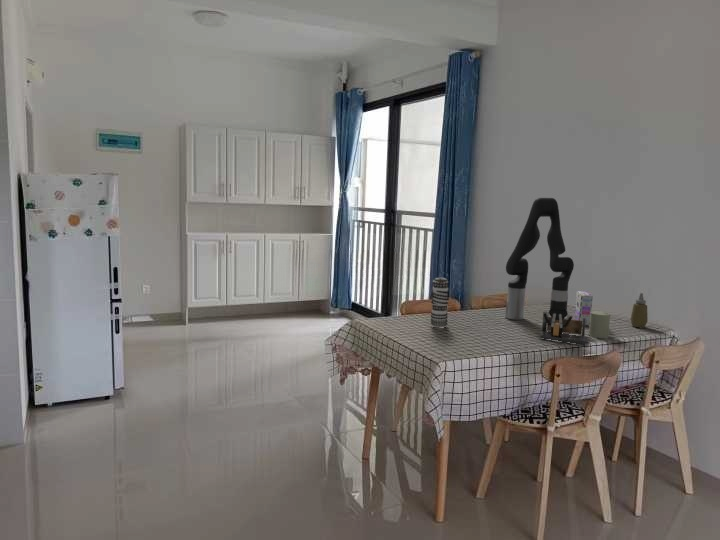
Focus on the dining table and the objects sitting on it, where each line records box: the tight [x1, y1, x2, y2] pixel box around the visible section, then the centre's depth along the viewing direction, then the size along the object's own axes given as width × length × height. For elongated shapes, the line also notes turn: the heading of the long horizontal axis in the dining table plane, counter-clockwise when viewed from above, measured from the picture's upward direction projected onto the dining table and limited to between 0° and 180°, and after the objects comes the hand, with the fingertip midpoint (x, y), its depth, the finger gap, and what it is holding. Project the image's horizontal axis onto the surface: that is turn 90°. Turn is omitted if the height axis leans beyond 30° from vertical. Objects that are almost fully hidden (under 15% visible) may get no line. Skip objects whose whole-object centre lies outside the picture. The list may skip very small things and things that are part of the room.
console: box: [539, 330, 588, 347], centre depth 266 cm, size 20×9×2 cm, turn 63°
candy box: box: [574, 290, 593, 327], centre depth 300 cm, size 14×6×16 cm, turn 168°
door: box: [546, 316, 583, 335], centre depth 277 cm, size 16×2×7 cm, turn 63°
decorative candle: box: [430, 277, 450, 328], centre depth 286 cm, size 9×9×25 cm
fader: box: [553, 323, 560, 336], centre depth 267 cm, size 2×5×5 cm, turn 153°
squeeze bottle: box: [630, 292, 648, 328], centre depth 294 cm, size 8×8×18 cm
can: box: [588, 310, 611, 339], centre depth 275 cm, size 9×9×12 cm
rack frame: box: [541, 310, 586, 337], centre depth 278 cm, size 20×2×10 cm, turn 63°
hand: (556, 334), depth 268 cm, fingers closed on fader, 2 cm apart
